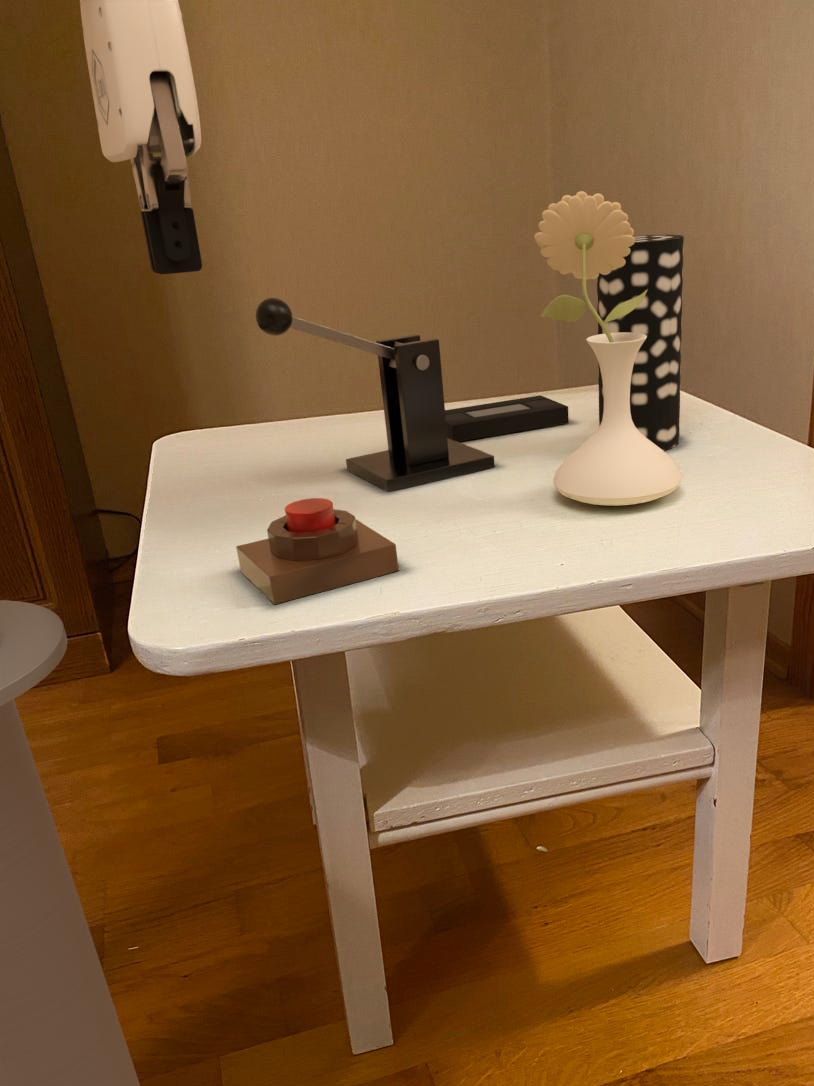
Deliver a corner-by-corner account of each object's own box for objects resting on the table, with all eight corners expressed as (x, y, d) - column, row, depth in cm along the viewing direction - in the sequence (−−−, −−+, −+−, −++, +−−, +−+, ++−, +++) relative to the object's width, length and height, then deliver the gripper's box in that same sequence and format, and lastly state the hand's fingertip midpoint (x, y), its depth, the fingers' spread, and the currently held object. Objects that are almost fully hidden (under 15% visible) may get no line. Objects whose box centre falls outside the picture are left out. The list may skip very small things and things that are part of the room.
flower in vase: (701, 484, 87) (711, 181, 76) (651, 524, 79) (654, 189, 68) (573, 471, 94) (565, 190, 83) (514, 506, 85) (497, 198, 74)
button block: (274, 604, 69) (265, 553, 67) (240, 572, 75) (231, 524, 74) (399, 571, 73) (393, 521, 72) (357, 542, 80) (351, 496, 78)
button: (298, 539, 71) (294, 516, 70) (281, 526, 74) (277, 504, 73) (343, 528, 72) (340, 506, 71) (325, 516, 75) (322, 494, 74)
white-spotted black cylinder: (598, 455, 98) (594, 245, 89) (600, 434, 106) (597, 238, 97) (680, 452, 97) (685, 239, 88) (677, 431, 104) (681, 232, 96)
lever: (258, 331, 84) (267, 294, 83) (247, 328, 86) (255, 291, 86) (424, 381, 93) (433, 348, 93) (409, 376, 96) (418, 344, 95)
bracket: (387, 492, 92) (372, 355, 86) (346, 470, 100) (329, 343, 94) (495, 467, 97) (486, 336, 91) (448, 448, 105) (437, 326, 99)
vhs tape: (430, 429, 113) (429, 412, 112) (541, 411, 117) (540, 395, 116) (453, 443, 106) (451, 425, 106) (568, 423, 111) (568, 406, 110)
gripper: (43, -22, 64) (104, 271, 72) (77, -75, 52) (145, 283, 60) (157, -18, 67) (203, 263, 75) (213, -67, 55) (261, 272, 63)
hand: (177, 271), depth 68 cm, fingers closed
